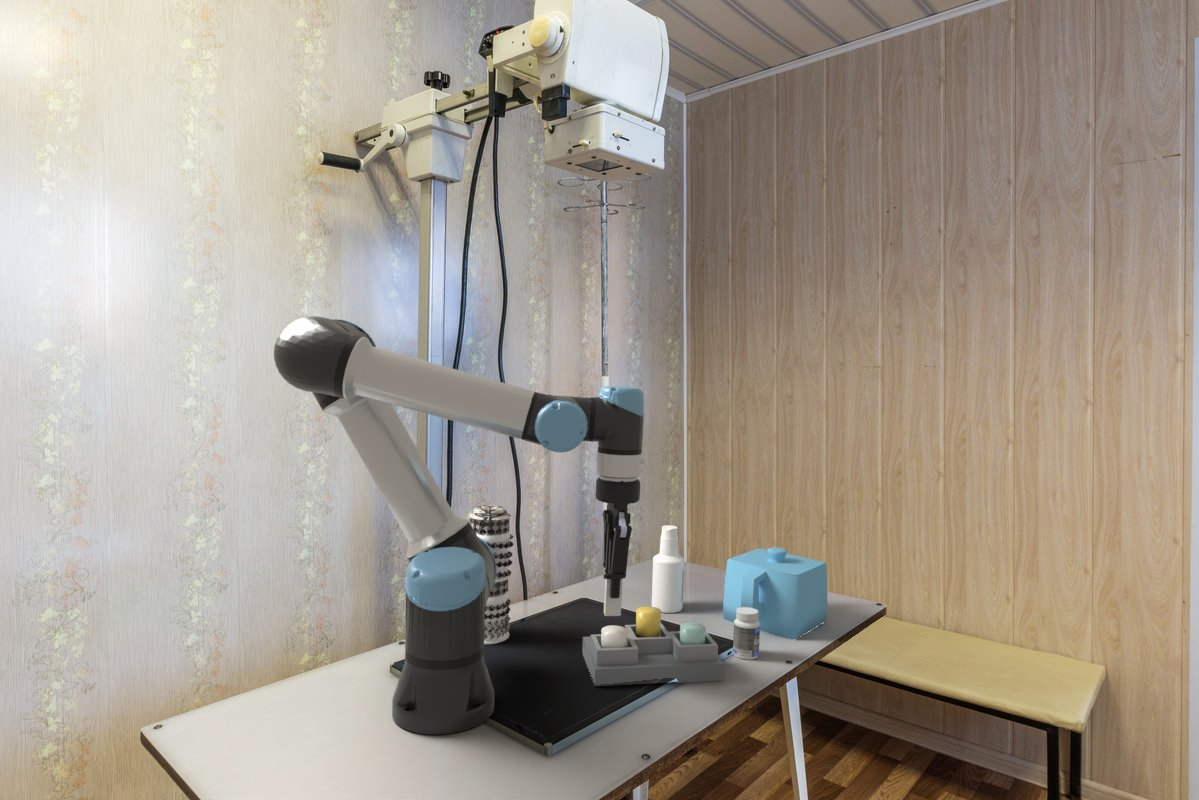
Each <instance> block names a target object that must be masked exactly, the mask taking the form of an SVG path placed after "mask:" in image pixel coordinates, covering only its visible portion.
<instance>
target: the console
mask: <svg viewBox="0 0 1199 800" xmlns="http://www.w3.org/2000/svg"><path fill="white" fill-rule="evenodd" d="M624 628H626V629H627V647H625V648H601V634H600V633H599V634H598V633H597V634H590V636H582V647H581V648H582V651H581V652H582V656H583V659H584V662H585V665H586V667H587V670H588V669H589V670H588V672H590V673H589V675H590V674H591V675H590V678H591V677H592V678H591V680H592V679H593V681H592V683H593V682H594V684H595V685H601V684H614V683H623V682H633V681H642V680H653V679H662V678H677V680H678V682H677V683H676V684H681V683H682V684H683V683H685V684H686V683H705V682H706V683H707V682H723V681H724V664H725V663H724V661H722V659H720V657H719V645H718V643H717V642H716V641H715V640H714V638H712V637H711V635H710V634H709V633H708V631H707V630H705V644H698V645H681V643H680V630H679V631H668V630H667V628H666V627H665V626H664V625H663V623H661V631H660V635H659V636H656V637H643V636H640V635H638V634H636V624H625V625H624ZM594 684H593V685H594Z"/></svg>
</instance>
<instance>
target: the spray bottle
mask: <svg viewBox="0 0 1199 800" xmlns="http://www.w3.org/2000/svg"><path fill="white" fill-rule="evenodd" d="M659 540H660V546H659V553H657V554H655V555H654V556H653V558H652V579H651V580H652V582H651V583H652V584H651V587H652V588H651V589H652V590H651V607H656V608H659V609H660V610H661V614H662V613H664V614H675V613H679V612H681V611H682V610H683V608H684V605H683V604H684V601H683V600H684V583H685V582H684V580H685V579H684V577H685V576H684V575H685V558H684V557H683V556H681V555H680V554H679V537H678V526H676V525H671V524H668V525H667V524H666V525H662V526H661V534H660V539H659Z"/></svg>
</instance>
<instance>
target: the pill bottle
mask: <svg viewBox="0 0 1199 800" xmlns="http://www.w3.org/2000/svg"><path fill="white" fill-rule="evenodd" d="M736 617H737V619H735V621H734V622H733V643H732V648H733V649H732V653H733V655H734V657H736V658H738V659H742V660H755V659H758V657H759V655H760V637H761V636H760V635H761V634H760V633H761V630H760V623H759V621H758V618H759V615H758V610H756V609H754V608H749V607H741V608H738V609H737V612H736Z"/></svg>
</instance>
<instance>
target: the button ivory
mask: <svg viewBox="0 0 1199 800" xmlns="http://www.w3.org/2000/svg"><path fill="white" fill-rule="evenodd" d="M600 633H601V648H625V647H627V629H626V628H625V626H620V625H615V624H613V625H606V626H603V627H602V628H601V630H600Z"/></svg>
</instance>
